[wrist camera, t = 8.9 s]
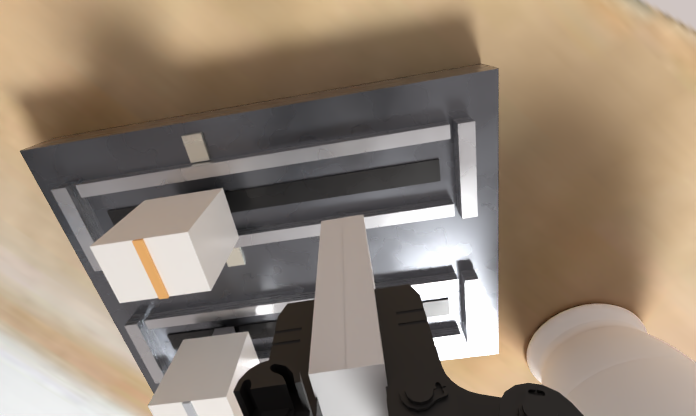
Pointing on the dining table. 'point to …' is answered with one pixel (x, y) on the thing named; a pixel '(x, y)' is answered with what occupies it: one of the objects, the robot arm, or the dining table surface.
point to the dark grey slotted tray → (303, 204)
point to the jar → (612, 364)
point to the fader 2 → (205, 376)
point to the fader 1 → (168, 246)
